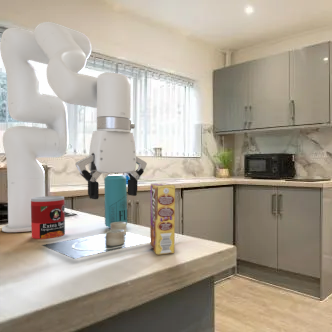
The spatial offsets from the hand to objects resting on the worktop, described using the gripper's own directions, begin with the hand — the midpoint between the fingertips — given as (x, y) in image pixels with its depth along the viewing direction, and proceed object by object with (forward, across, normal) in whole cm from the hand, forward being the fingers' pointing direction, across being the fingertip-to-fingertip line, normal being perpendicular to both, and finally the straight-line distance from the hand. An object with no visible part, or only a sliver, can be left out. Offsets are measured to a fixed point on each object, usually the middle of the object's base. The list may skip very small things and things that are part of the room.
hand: (113, 196), depth 79 cm
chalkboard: (+12, +2, -2) cm, 12 cm away
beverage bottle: (+12, -10, -18) cm, 24 cm away
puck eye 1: (+11, -6, -8) cm, 15 cm away
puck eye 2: (+11, 0, +1) cm, 11 cm away
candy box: (+12, -5, +12) cm, 18 cm away
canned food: (+13, +7, -21) cm, 26 cm away
